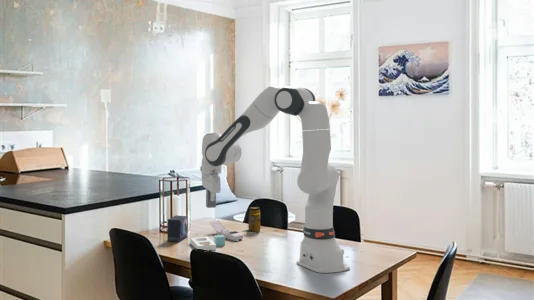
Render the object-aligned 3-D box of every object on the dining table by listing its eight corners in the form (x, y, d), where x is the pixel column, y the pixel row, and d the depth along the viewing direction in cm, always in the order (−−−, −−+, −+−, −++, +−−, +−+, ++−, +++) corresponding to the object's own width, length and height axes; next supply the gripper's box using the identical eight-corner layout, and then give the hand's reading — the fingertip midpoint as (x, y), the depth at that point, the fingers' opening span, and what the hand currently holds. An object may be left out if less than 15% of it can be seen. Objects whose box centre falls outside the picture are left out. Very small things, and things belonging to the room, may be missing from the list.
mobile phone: (218, 220, 266) (246, 228, 246) (218, 231, 267) (246, 240, 247) (208, 221, 263) (235, 230, 243) (208, 233, 263) (236, 242, 243)
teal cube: (225, 245, 238) (225, 236, 238) (216, 246, 237) (216, 237, 236) (222, 243, 242) (222, 234, 241) (214, 244, 240) (214, 235, 240)
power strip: (216, 250, 229) (216, 243, 229) (198, 251, 227) (198, 245, 226) (207, 241, 244) (207, 236, 244) (190, 243, 242) (190, 237, 241)
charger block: (215, 207, 234) (216, 189, 234) (207, 207, 233) (208, 189, 232) (213, 205, 238) (214, 187, 237) (205, 206, 236) (206, 187, 236)
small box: (180, 242, 244) (180, 219, 243) (167, 241, 245) (166, 219, 244) (188, 237, 254) (187, 215, 253) (175, 236, 256) (175, 215, 255)
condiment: (264, 231, 267) (264, 207, 266) (251, 233, 261) (251, 209, 260) (254, 228, 272) (254, 205, 271) (242, 231, 266) (241, 207, 266)
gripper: (224, 172, 225) (223, 203, 226) (212, 166, 244) (212, 195, 246) (210, 172, 223) (209, 204, 224) (199, 166, 242) (198, 196, 243)
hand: (210, 199), depth 235 cm, fingers closed on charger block, 4 cm apart
